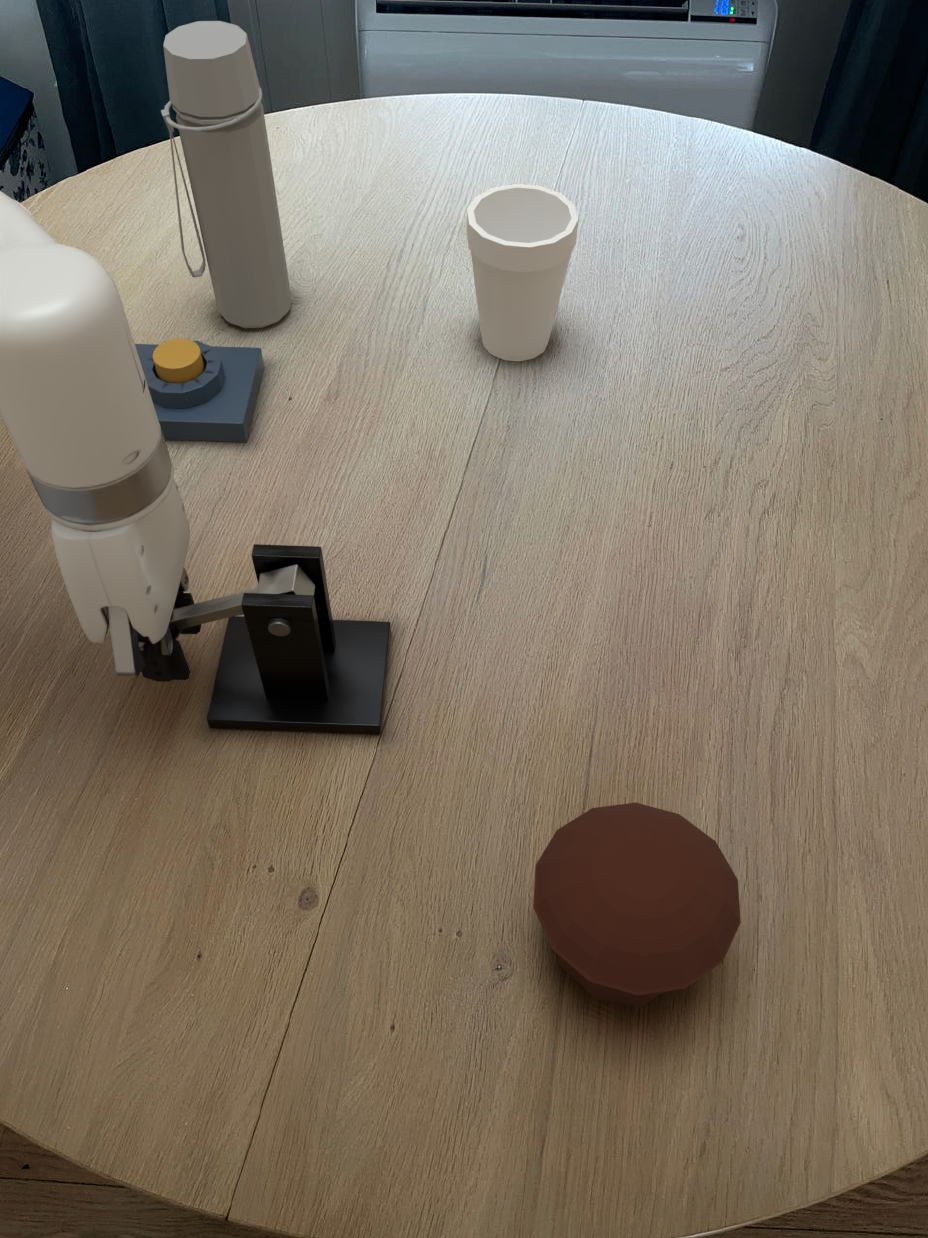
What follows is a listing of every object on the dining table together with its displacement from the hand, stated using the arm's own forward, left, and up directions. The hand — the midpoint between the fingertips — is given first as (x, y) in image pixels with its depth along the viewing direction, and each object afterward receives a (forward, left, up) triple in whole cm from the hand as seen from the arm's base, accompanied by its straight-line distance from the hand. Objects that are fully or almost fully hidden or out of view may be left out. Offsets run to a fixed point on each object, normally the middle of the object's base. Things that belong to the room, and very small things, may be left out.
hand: (173, 651), depth 73 cm
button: (-5, +29, +1) cm, 30 cm away
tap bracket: (+9, 0, -3) cm, 9 cm away
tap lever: (+5, 0, +4) cm, 6 cm away
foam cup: (+24, +39, -3) cm, 46 cm away
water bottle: (-2, +42, -3) cm, 42 cm away
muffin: (+31, -18, -3) cm, 36 cm away
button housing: (-5, +29, -3) cm, 30 cm away
